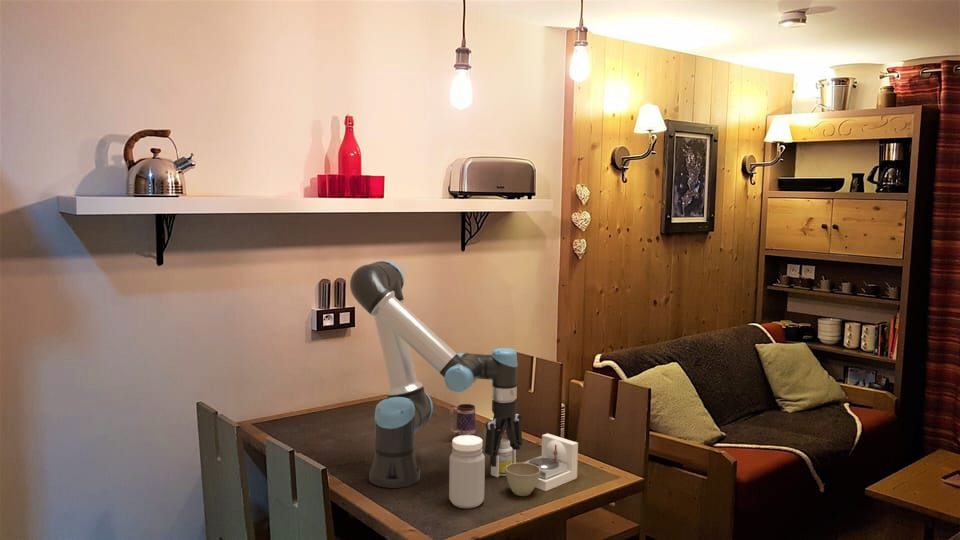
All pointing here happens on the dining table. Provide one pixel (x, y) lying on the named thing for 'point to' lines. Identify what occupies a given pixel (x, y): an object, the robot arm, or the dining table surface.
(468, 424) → the mug
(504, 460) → the supplement bottle
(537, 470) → the flower pot
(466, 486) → the jar
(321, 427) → the dining table surface
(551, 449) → the scale base
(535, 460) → the pan
